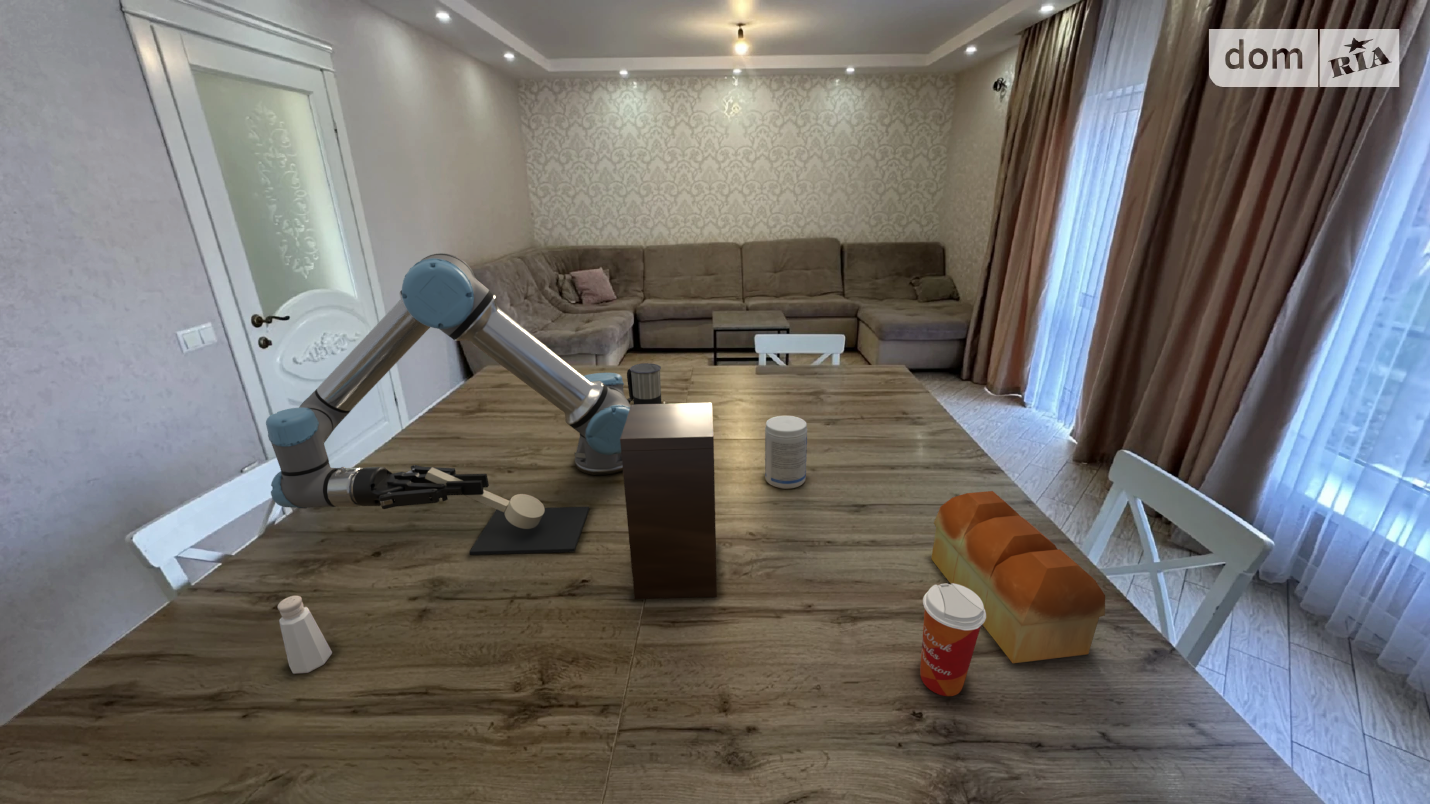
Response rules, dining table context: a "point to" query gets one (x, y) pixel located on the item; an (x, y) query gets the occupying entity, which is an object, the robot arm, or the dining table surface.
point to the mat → (533, 533)
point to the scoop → (501, 502)
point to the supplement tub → (785, 451)
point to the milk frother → (644, 383)
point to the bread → (1017, 579)
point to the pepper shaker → (302, 637)
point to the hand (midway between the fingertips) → (484, 484)
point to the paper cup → (949, 636)
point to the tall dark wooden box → (670, 499)
